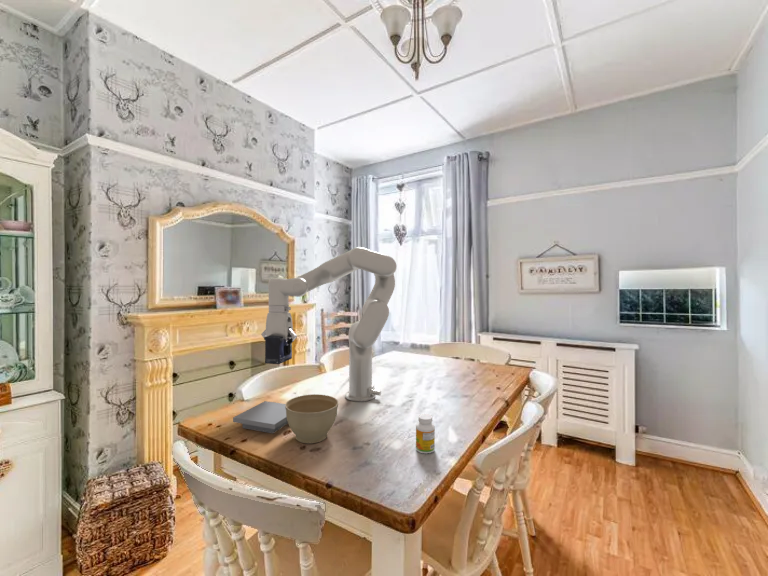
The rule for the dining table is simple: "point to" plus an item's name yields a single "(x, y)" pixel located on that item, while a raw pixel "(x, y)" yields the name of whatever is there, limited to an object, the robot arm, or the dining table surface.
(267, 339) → the small box
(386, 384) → the dining table surface
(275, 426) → the stand
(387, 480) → the dining table surface
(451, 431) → the dining table surface
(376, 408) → the dining table surface
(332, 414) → the planter bowl
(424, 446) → the supplement bottle
